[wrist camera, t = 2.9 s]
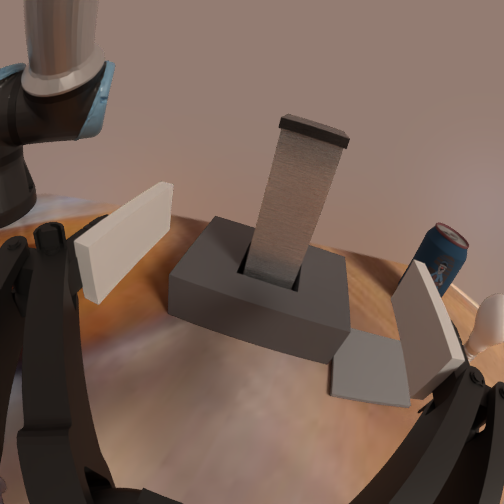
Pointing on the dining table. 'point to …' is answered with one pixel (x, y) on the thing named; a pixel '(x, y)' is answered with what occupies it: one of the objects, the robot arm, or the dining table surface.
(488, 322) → the lightbulb
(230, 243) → the dark gray block
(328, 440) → the dining table surface
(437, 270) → the soda can
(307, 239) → the plug
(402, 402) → the mat
